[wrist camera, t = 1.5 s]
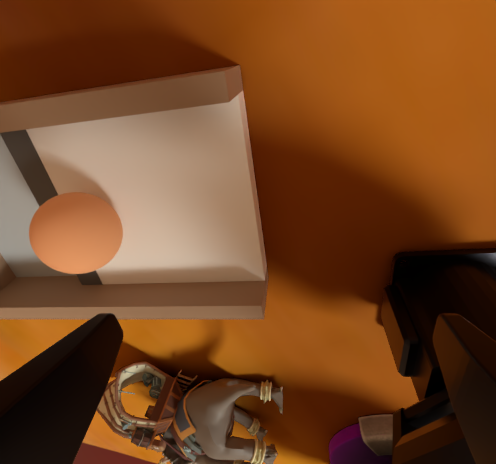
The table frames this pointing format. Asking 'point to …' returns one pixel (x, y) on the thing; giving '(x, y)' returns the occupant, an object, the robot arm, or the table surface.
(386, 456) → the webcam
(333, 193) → the table surface
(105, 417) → the figurine
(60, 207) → the ball
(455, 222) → the table surface
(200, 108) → the shallow open tray
